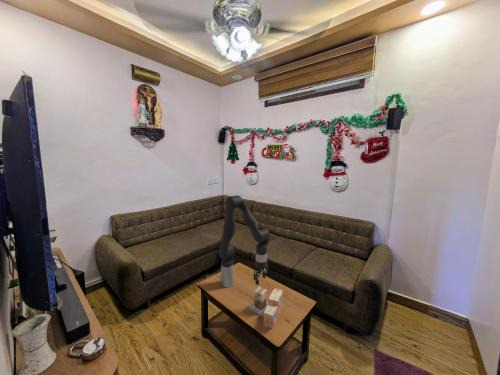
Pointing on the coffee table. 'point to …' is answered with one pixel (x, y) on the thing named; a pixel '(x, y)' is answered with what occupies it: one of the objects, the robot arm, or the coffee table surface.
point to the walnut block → (259, 304)
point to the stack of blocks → (273, 308)
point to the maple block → (260, 294)
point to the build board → (258, 311)
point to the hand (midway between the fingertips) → (260, 280)
